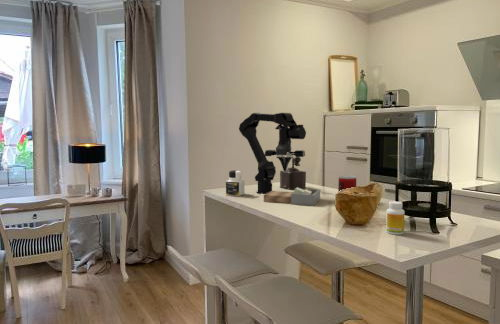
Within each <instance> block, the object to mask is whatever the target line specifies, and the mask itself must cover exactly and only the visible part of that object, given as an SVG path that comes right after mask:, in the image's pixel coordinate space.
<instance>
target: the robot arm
mask: <svg viewBox="0 0 500 324" xmlns="http://www.w3.org/2000/svg"><path fill="white" fill-rule="evenodd" d="M260 121H261V122H273V123H275V124H277V126H276V127H275V128H274V129H275V130H278V144H277V146H276V147H275V149H267V150H265V152H264V150H263V148H262V145H261V144H260V141H259V139H258V137H257V127H258V126H259V123H260ZM238 130H239V132H240V134H241V135H242V137H244V138H245V140H247V142H248V145H249V146H250V149H251V150H252V153H253V156H254V157H255V160H256V163H257V171H258V173H256V174H255V176H254V179H255V182H257V191H256V193H257V194H267V193H268V192H270V191H273V183H272V181H273V180H274V178H275V175H276V173H277V171H276V166H275V164H274V161H270V160H268V159H267V157H272V156H276V159H278V160H279V161H280V164H281V167H282V171H286V170H287V169H288V168H289V163H290V161H292V158H294V156H295V157H300V158H304V157H305V156H306V151H305V150H298V149H296V150H294V151H292V140H304V139H305V138H306V135H307V131H306V129H305V127H304V124H297V121H296V120H295V119H294V116H293V114H292V113H291V112H276V113H273V114H272V113H260V112H253V113H251V114H250V115H249V116H248V117H246V118H245V119H244V120H243V121H242V122H241V123H239V126H238Z"/></svg>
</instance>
